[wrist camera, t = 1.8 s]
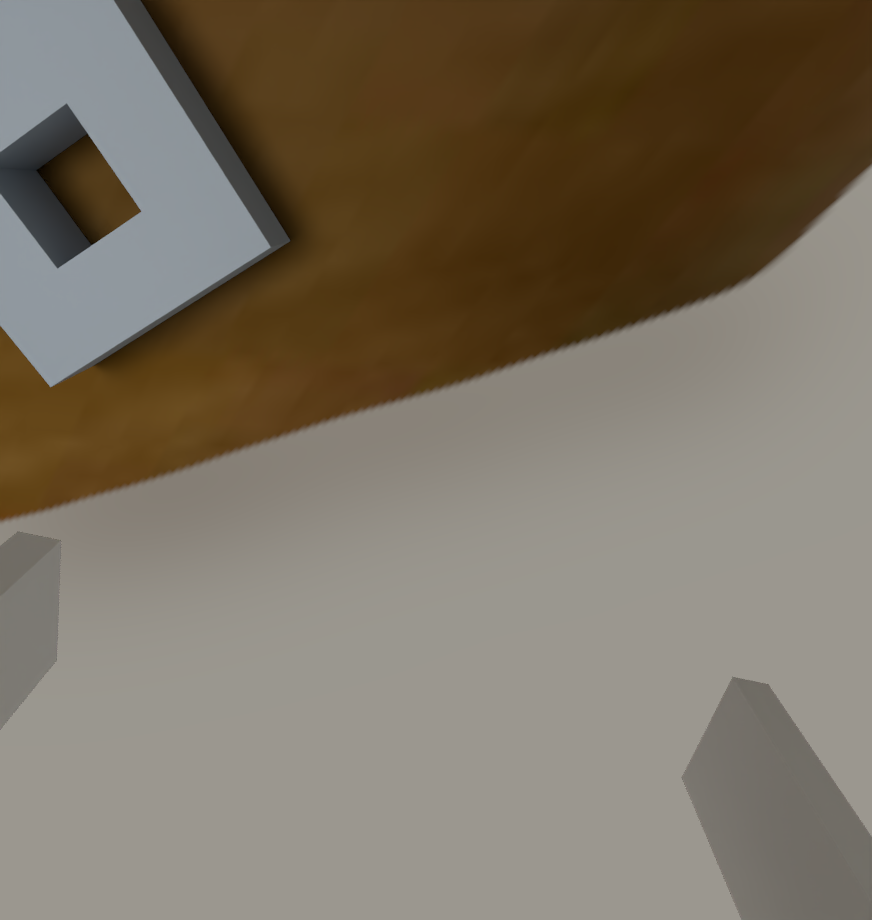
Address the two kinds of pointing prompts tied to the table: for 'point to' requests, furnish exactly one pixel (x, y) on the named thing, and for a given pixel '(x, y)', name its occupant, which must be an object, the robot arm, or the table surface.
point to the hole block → (136, 165)
